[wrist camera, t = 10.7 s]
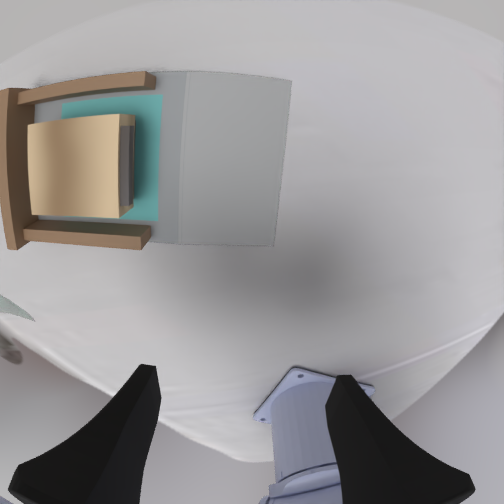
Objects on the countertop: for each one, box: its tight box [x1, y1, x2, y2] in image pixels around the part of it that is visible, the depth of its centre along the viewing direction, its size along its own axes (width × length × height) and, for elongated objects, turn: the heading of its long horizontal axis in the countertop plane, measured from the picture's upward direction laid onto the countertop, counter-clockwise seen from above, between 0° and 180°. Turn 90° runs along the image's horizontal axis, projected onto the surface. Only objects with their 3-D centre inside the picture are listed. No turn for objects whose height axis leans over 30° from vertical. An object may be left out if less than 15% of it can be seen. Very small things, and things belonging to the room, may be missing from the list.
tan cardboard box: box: [28, 114, 136, 218], centre depth 14 cm, size 6×5×3 cm
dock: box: [0, 71, 292, 250], centre depth 15 cm, size 18×10×5 cm, turn 85°
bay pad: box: [61, 95, 163, 221], centre depth 16 cm, size 7×8×1 cm
